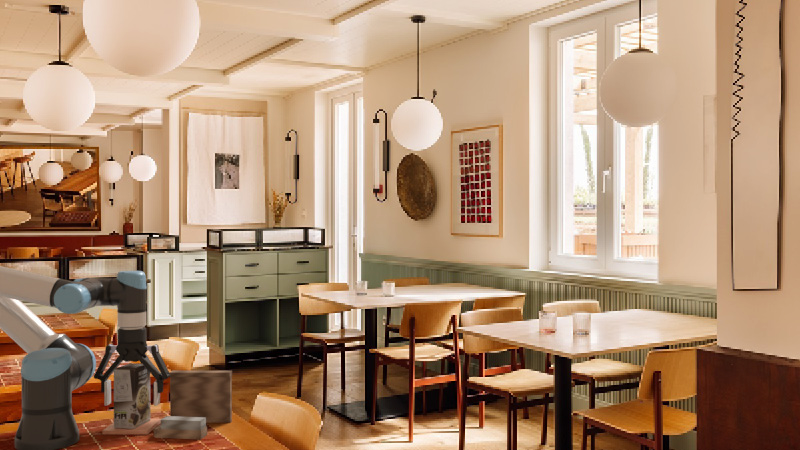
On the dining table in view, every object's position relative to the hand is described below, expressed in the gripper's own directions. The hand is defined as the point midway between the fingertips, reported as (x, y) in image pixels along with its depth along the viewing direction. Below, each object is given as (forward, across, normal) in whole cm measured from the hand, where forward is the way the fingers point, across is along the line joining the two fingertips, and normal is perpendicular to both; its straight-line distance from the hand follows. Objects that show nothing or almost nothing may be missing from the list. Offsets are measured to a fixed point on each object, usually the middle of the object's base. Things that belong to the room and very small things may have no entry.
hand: (132, 404), depth 212 cm
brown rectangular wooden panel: (+6, -17, -7) cm, 19 cm away
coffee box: (+6, 0, 0) cm, 6 cm away
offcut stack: (+7, -16, +8) cm, 19 cm away
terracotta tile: (+6, 0, 0) cm, 6 cm away
